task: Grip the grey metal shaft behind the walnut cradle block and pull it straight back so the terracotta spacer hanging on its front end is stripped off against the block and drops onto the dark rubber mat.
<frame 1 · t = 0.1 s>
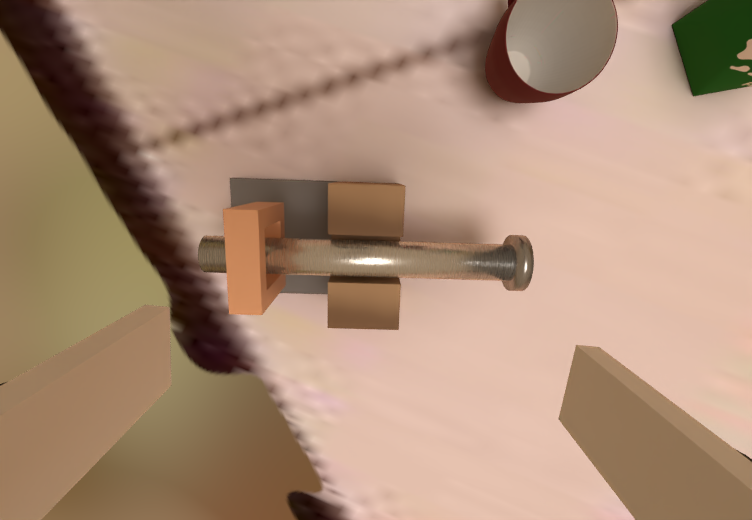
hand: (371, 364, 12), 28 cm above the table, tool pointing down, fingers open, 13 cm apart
cradle block: (366, 240, 39), on the table
milk carton: (715, 44, 36), on the table
shaft: (364, 258, 31), point 9 cm above the table, slide at 0.0 cm, touching spacer
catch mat: (286, 237, 39), on the table
mug: (506, 60, 36), on the table
spacer: (271, 244, 35), point 4 cm above the table, touching shaft
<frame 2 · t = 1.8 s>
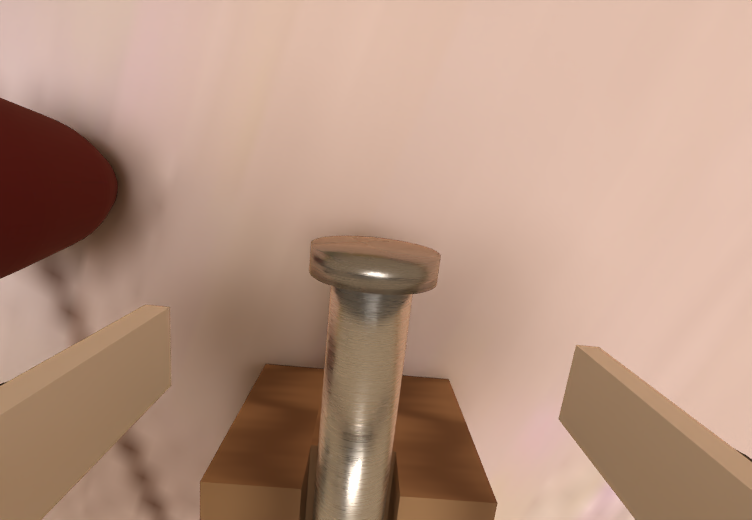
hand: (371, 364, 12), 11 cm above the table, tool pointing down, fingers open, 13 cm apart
cradle block: (354, 412, 25), on the table
mug: (65, 188, 22), on the table
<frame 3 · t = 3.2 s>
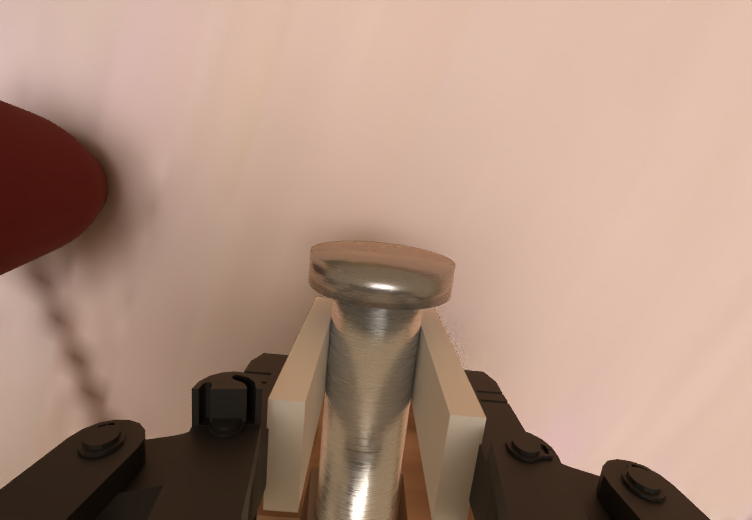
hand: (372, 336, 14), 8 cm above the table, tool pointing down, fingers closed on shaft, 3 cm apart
cradle block: (357, 425, 24), on the table
mug: (53, 188, 20), on the table
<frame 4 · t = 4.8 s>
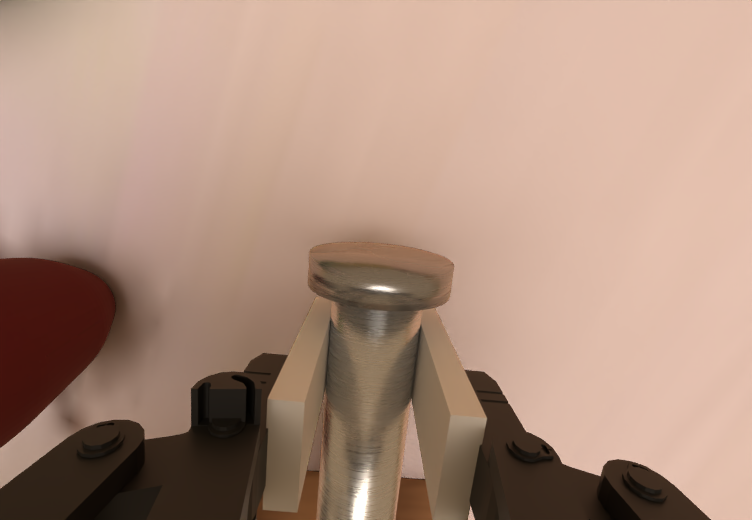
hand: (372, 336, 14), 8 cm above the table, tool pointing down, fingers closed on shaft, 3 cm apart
cradle block: (350, 511, 25), on the table
mug: (65, 305, 22), on the table
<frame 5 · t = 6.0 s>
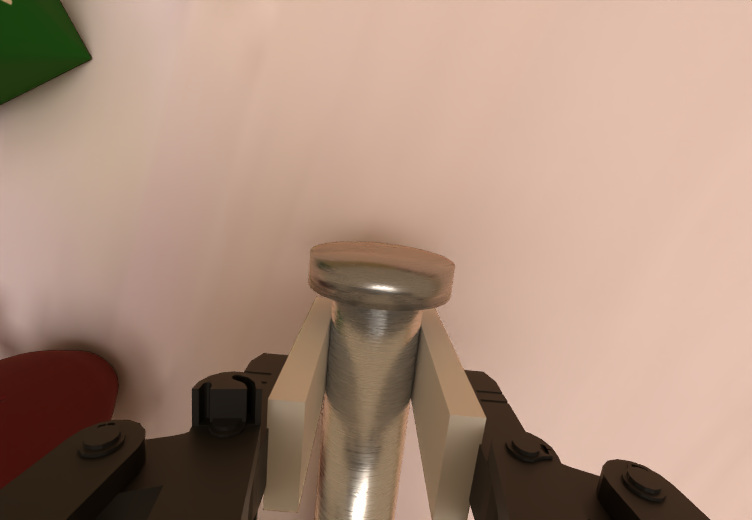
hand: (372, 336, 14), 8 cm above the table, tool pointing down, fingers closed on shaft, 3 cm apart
mug: (70, 383, 23), on the table
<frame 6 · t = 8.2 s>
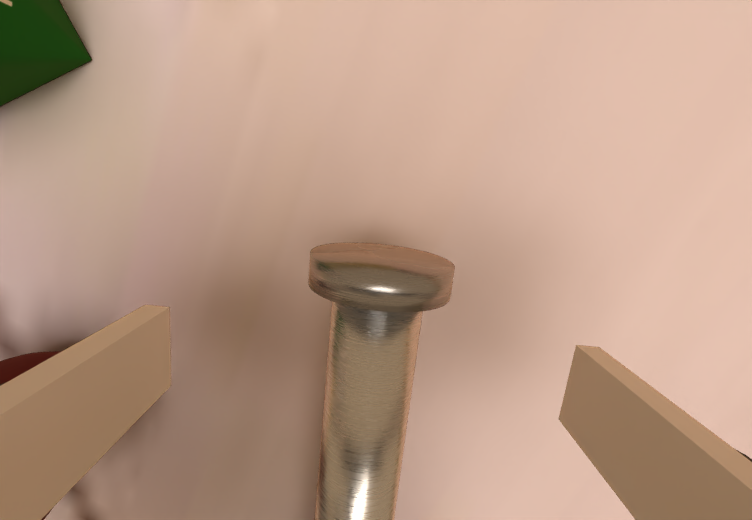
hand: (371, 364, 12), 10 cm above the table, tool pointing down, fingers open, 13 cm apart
mug: (70, 384, 23), on the table
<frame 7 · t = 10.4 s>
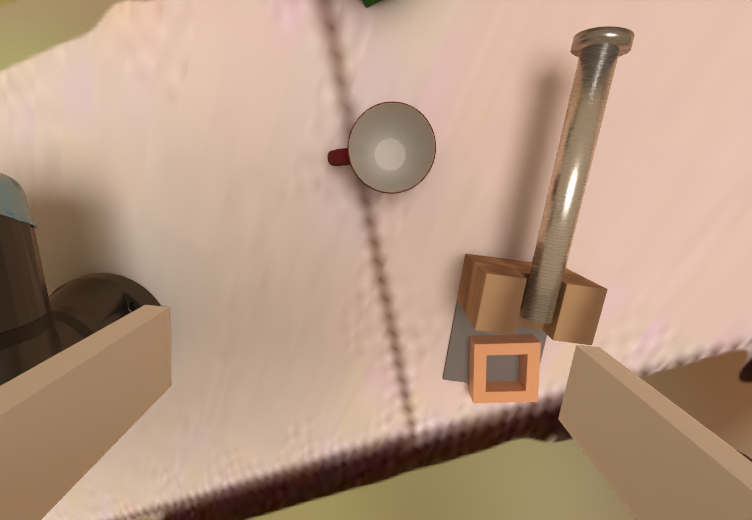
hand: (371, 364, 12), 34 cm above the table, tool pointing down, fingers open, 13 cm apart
cradle block: (509, 283, 46), on the table
shaft: (566, 189, 35), point 9 cm above the table, slide at 11.9 cm
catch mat: (495, 345, 48), on the table
mug: (379, 157, 44), on the table
spacer: (504, 339, 46), point 2 cm above the table, tilted 90°, touching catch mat
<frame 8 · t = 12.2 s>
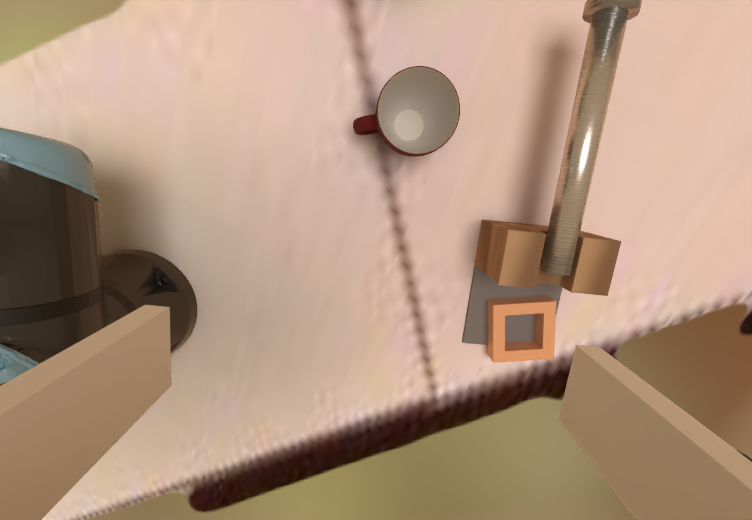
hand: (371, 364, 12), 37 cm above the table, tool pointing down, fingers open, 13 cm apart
cradle block: (523, 247, 49), on the table
shaft: (581, 147, 37), point 9 cm above the table, slide at 11.9 cm
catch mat: (511, 308, 50), on the table
mug: (398, 128, 45), on the table
spacer: (521, 300, 48), point 2 cm above the table, tilted 90°, touching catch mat
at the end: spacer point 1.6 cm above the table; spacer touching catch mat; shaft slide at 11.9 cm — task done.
